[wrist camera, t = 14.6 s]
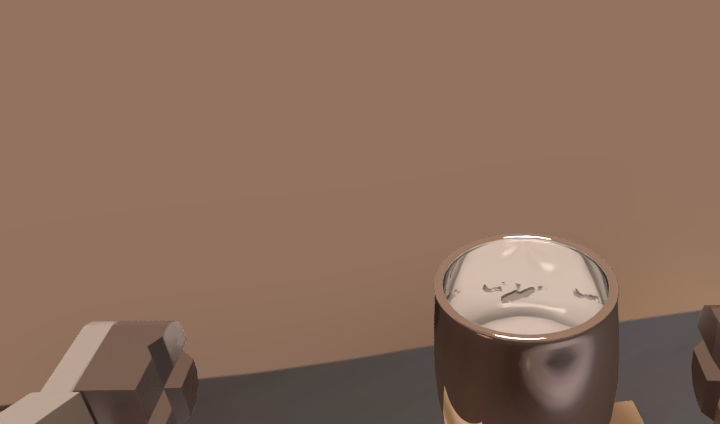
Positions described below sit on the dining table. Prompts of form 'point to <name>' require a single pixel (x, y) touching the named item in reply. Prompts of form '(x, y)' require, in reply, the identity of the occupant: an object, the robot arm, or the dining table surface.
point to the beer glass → (526, 332)
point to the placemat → (625, 413)
